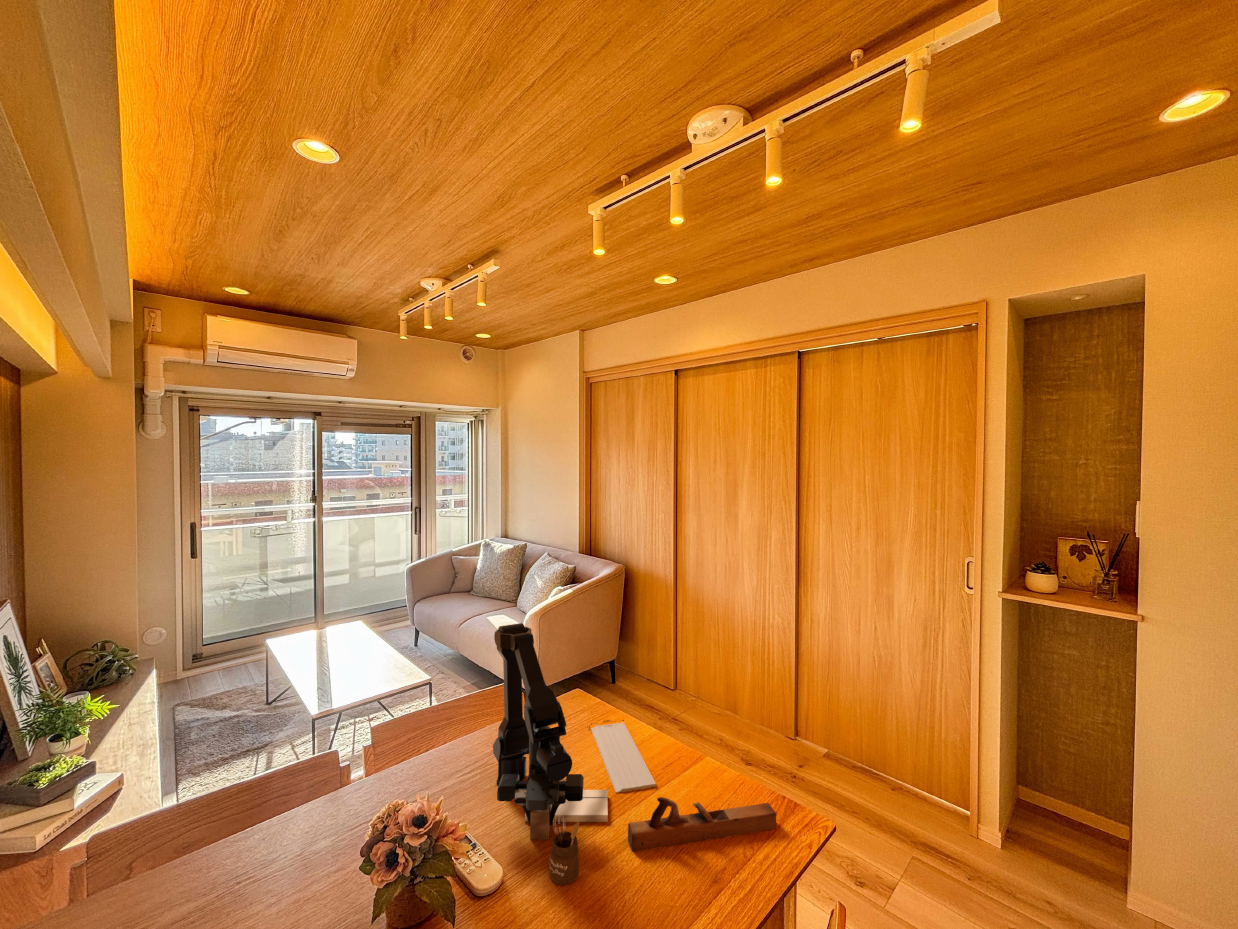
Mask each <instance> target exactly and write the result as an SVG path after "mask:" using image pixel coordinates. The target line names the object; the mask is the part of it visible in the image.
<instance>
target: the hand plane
mask: <svg viewBox="0 0 1238 929" xmlns="http://www.w3.org/2000/svg"><path fill="white" fill-rule="evenodd" d="M656 800H657V802H658V803H659V804H658V805H657V807H656V808H654V811H653V812H652V814H651V817H650V819H647V820H641V821H633V822H632V821H631V822H628V825H627V829H628V830H627V839H628V845H629V848H630V850H631V851H632V852H634V853H635V852H641V851H646V850H647V851H648V850H649V851H650V849H651V850H653V849H660V848H664V847H672V846H679V845H684V844H686V845H687V844H691V843H697V842H703V841H710V840H715V839H717V840H718V839H724V838H729V837H735V836H741V835H742V836H743V835H749V834H755V833H761V832H766V831H767V832H768V831H772V830H776V828H777V812H776V811H775V809H774V808H773V807H772V806H771V804H770V803H769V802H763V803H758V804H757V803H756V804H752V805H751V804H750V805H745V806H738V807H737V806H736V807H730V808H725V809H717V810H710V811H707V810H706V808H705V807H704V806H703V805H702V804H701V803H700V802H698V801H696V803H692V806H693V807H694V808H695V809H697V812H696V813H689V814H680V813H679V806H678V803H677V802H675V801H673V800H672V799H670V798H667V797H665V796H663V797H662V796H659V797H657V798H656ZM668 807H670V811H669V814H668V816H665V817H663V816H664V815H665V811H666V810H667V808H668Z"/></svg>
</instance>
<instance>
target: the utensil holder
mask: <svg viewBox="0 0 1238 929" xmlns="http://www.w3.org/2000/svg"><path fill="white" fill-rule="evenodd" d="M556 816H558V821H559V822H558V823H561V822H560V820H559V814H558V815H556ZM560 816H561V815H560ZM562 817H563V816H562ZM556 818H557V817H556ZM563 818H564V817H563ZM561 819H562V818H561ZM564 821H565V819H564ZM564 821H563V822H562V824H565V822H564ZM556 823H557V822H556V821H555V822H554V821H553V822H552V824H554V825H557V824H556ZM579 825H580V822H579V821H578V822H575V824H573V826H572V831H567V830H565V825H562V826H563V831H561V828H559V829H557V828H554V830H553V831H554V833H555V834H554V836H553V838H552V841H551V848H550V851H549V876H550V879H551V881H553V882H554V883H555V884H556V885H560V886H566V885H569V884H572V883H573V882H574V881H575V880H576V879H578V878H577V877H578V876H579V872H580V871H579V870H580V850H579V846H578V845H579V844H578V843H579V842H578V838H577V834H578V832H579V831H578V830H579V827H580V826H579ZM558 830H559V831H558Z"/></svg>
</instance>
